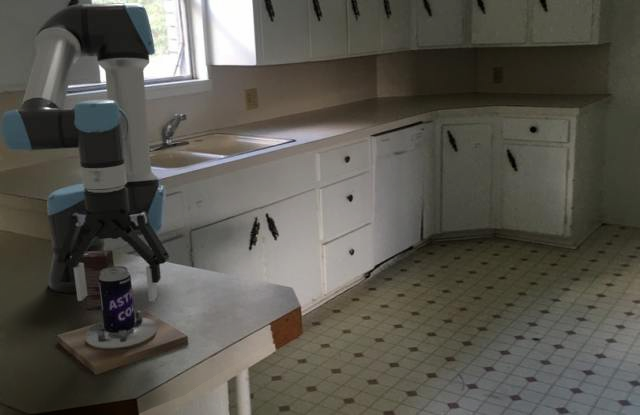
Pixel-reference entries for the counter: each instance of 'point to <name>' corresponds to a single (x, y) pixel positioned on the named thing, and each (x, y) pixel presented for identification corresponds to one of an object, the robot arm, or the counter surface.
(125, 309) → the beverage can
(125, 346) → the flange
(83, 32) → the robot arm
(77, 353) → the base plate
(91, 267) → the box
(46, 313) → the counter surface
